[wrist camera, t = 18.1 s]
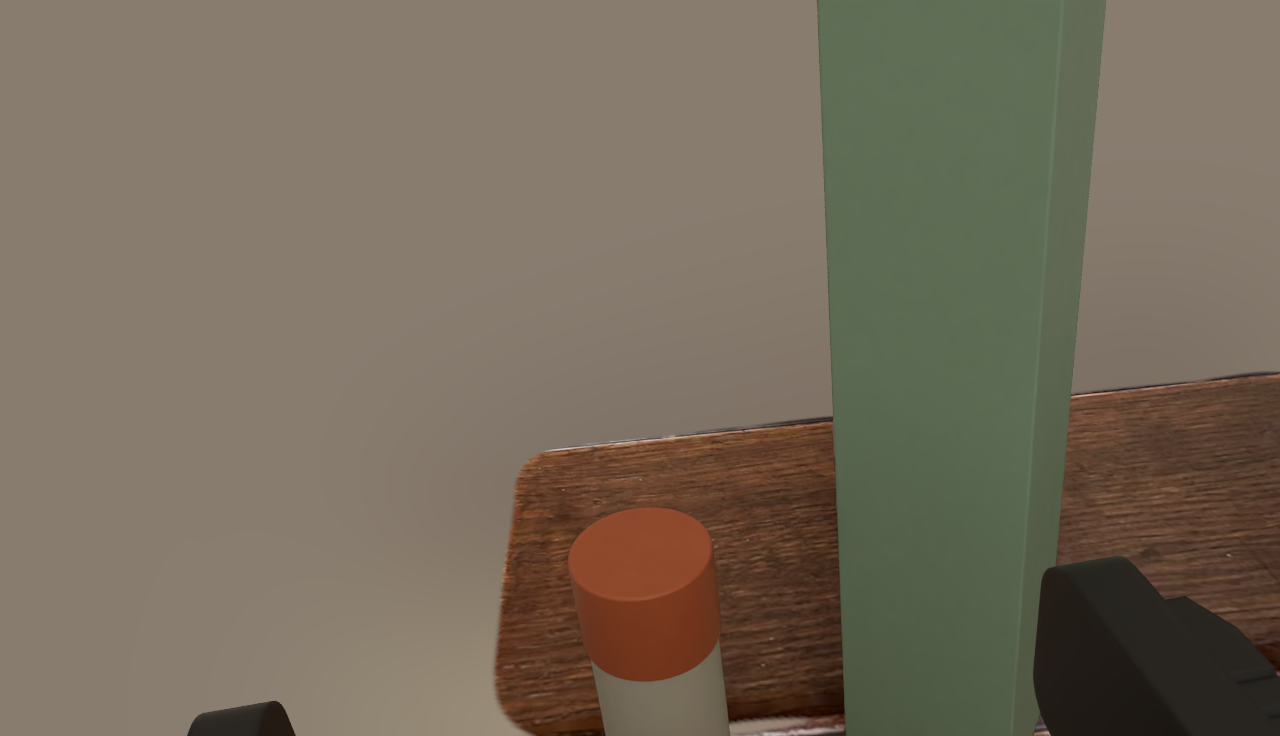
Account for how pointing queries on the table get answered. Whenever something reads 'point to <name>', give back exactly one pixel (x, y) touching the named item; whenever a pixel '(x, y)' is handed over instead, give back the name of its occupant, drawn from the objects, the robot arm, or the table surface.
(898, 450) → the holder
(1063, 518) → the table surface
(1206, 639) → the robot arm
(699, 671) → the marker
